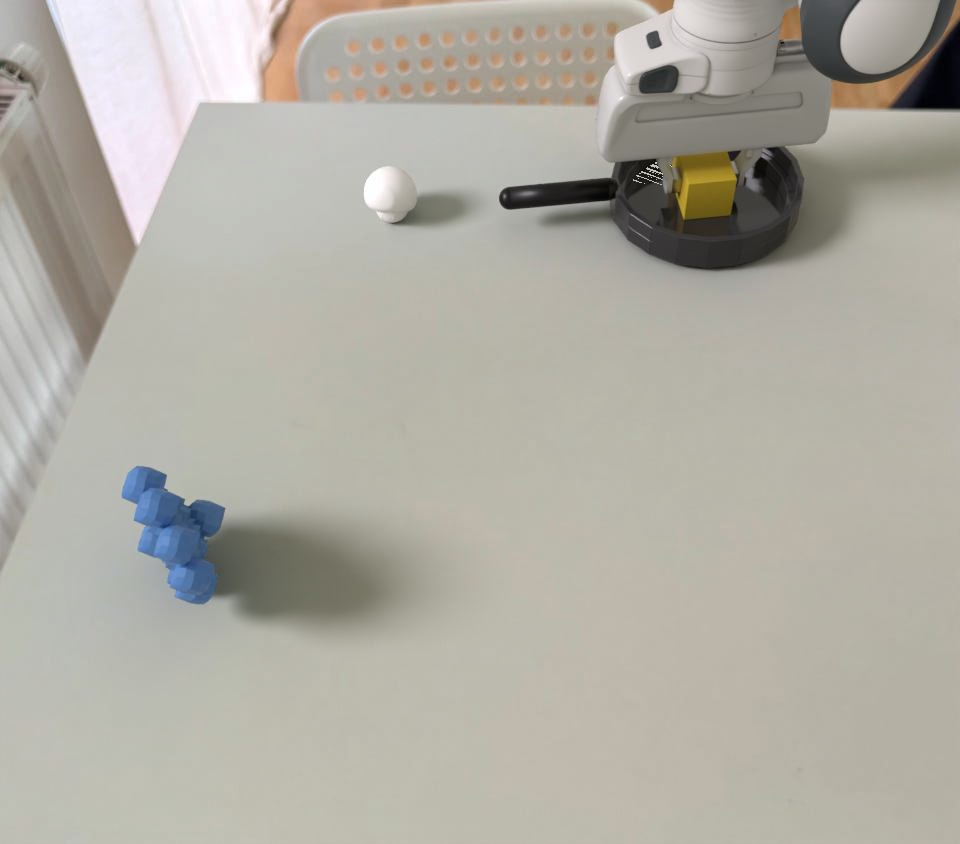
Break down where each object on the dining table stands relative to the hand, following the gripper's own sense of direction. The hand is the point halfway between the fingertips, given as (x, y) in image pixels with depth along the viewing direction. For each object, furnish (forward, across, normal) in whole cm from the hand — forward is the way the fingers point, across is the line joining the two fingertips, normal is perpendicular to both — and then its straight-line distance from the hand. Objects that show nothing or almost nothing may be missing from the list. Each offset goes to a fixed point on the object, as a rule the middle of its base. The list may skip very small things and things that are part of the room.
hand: (701, 186), depth 102 cm
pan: (+2, 0, +1) cm, 2 cm away
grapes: (+2, +45, +37) cm, 58 cm away
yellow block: (+1, 0, 0) cm, 1 cm away
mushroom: (+2, +29, -2) cm, 29 cm away
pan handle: (0, +13, +1) cm, 14 cm away
